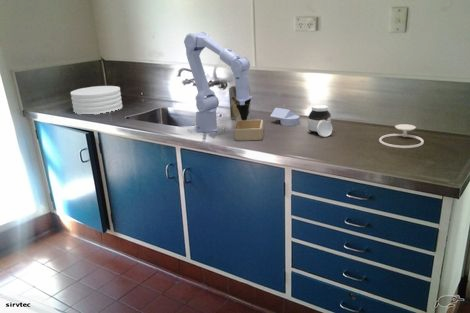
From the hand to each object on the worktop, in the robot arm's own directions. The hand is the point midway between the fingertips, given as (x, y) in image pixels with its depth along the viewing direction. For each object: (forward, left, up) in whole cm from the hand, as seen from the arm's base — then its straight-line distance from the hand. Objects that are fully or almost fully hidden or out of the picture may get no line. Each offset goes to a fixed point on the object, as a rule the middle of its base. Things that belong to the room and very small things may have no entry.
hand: (245, 118), depth 191 cm
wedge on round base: (+18, +20, -8) cm, 28 cm away
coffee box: (-5, +30, -8) cm, 32 cm away
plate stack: (-93, +60, -8) cm, 111 cm away
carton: (+2, 0, -8) cm, 8 cm away
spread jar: (+33, +1, -8) cm, 34 cm away
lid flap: (-3, 0, 0) cm, 3 cm away
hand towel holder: (+64, -11, -8) cm, 65 cm away
